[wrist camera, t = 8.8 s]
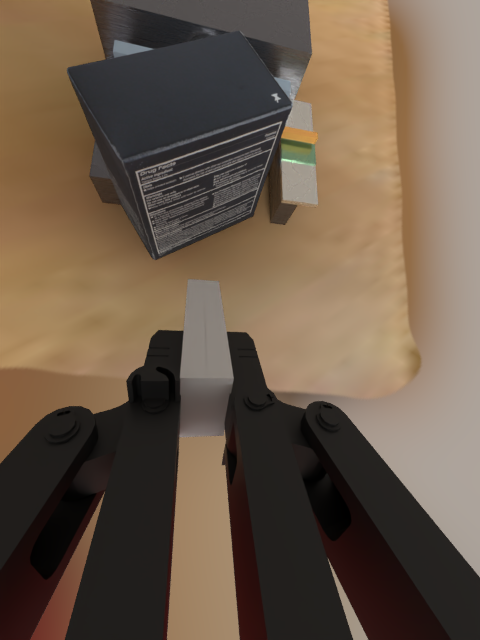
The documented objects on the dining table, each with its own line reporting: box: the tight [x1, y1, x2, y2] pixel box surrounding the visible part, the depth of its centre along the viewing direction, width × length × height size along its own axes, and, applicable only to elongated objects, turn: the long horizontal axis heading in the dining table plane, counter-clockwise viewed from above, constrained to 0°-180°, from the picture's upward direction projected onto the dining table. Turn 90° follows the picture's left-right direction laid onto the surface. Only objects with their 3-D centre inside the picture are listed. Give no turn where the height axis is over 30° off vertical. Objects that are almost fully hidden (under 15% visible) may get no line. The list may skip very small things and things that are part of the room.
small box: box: [67, 31, 293, 260], centre depth 18 cm, size 11×6×10 cm, turn 122°
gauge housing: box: [90, 0, 318, 225], centre depth 22 cm, size 18×18×7 cm
